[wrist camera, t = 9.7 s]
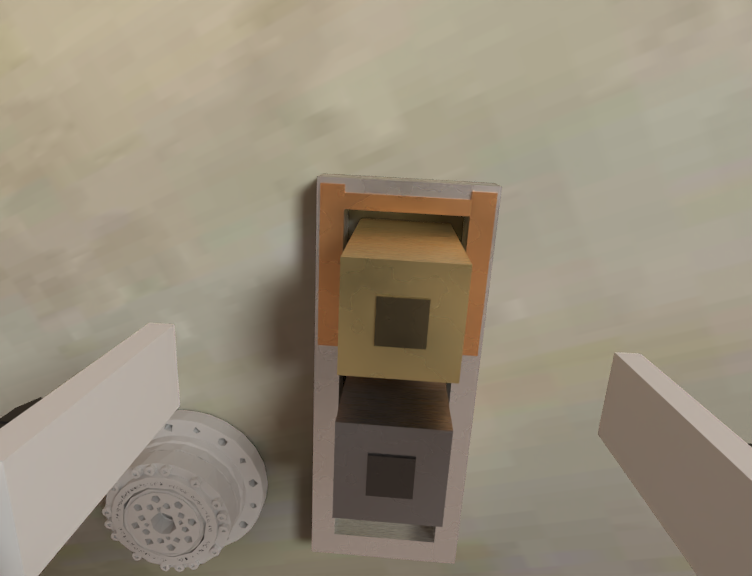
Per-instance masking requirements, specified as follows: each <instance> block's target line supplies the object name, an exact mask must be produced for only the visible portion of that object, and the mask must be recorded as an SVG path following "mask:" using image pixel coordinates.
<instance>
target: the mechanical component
mask: <svg viewBox="0 0 752 576" xmlns="http://www.w3.org/2000/svg"><path fill="white" fill-rule="evenodd" d="M267 487H268V480H267V475H266V470H265V464H264V462H263V460H262V459H261V457H260V455H259V453H258V451H257V449H256V447H255V446H254V445H253V444H252V443H251V442H250V441H249V440H248V438H247V437H246V436H245V435H244V434H243V433H242V432H240V431H239V430H237V429H236V428H234V427H233V426H232V425H230V424H229V423H227V422H226V421H224V420H221V419H219V418H217V417H214V416H212V415H209V414H205V413H201V412H196V411H189V410H176V411H175V412H174V414H173V415H172V416H171V417H170V418H169V420H168V421H167V422H166V423H165V424H164V426H163V427H162V428H161V429H160V430H159V432H158V433H157V434H156V435H155V436H154V438H153V439H152V440H151V441H150V442H149V444H148V445H147V446H146V447H145V448H144V450H143V451H142V452H141V453H140V454H139V456H138V457H137V458H136V459H135V460H134V462H133V463H132V464H131V465H130V466H129V468H128V469H127V470H126V471H125V472H124V474H123V475H122V476H121V477H120V478H119V480H118V481H117V482H116V483H115V484H114V485H113V487H112V488H111V489H110V490H109V491H108V493H107V494H106V505H105V507H104V508H103V510H102V514H103V515H105V516H106V517H107V521H106V522H105V527H106V528H108V529H111V530H112V531H113V532H112V534H111V538H112V539H113V540H114V541H120V542H121V543H122V544H123V545H124V546H125V547H126V548H128V549H129V550H130V551H132V552H134V553H133V554H132V558H133V559H134V560H137V561H139V560H141V558H144V559H145V560H147V561H149V562H151V563H155V564H159V565H160V568H161V569H162V570H163V571H168V570H169V569H170V567H175V570H176V571H178V572H182V571H183V570H184V568H185V567H189V568H191V569H193V570H194V569H197V568H198V566H199V564H202V563H205V562H206V561H208V560H210V559H211V558H213V557H214V556H218V555H219V553H220V551H221V549H222V548H223V547H224V546H225V545H228V544H230V543H232V542H235V541H237V540H239V539H240V538H241V537H242V536H244V535H245V534H246V533H247V532H248V531H249V530H250V529H251V528H252V526H253V525H254V524H255V522H256V521H257V519H258V517H259V514H260V512H261V510H262V507H263V505H264V502H265V500H266V494H267Z"/></svg>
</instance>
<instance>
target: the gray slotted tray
mask: <svg viewBox="0 0 752 576" xmlns="http://www.w3.org/2000/svg"><path fill="white" fill-rule="evenodd" d="M501 191H502V186H500V185H498V184H496V183H485V182H468V181H450V180H432V179H415V178H397V177H379V176H361V175H344V174H326V173H323V174H321V175H319V176H317V213H316V284H315V354H314V424H313V494H312V551H315V552H327V553H338V554H349V555H361V556H372V557H384V558H395V559H407V560H418V561H429V562H441V563H452V564H455V556H456V548H457V540H458V532H459V524H460V516H461V508H462V500H463V492H464V485H465V477H466V469H467V461H468V453H469V445H470V437H471V429H472V421H473V413H474V405H475V397H476V389H477V381H478V373H479V365H480V358H481V350H482V342H483V334H484V326H485V318H486V310H487V302H488V294H489V286H490V278H491V270H492V262H493V254H494V246H495V239H496V231H497V223H498V215H499V207H500V199H501ZM349 209H351V210H368V211H385V212H402V213H419V214H435V215H452V216H464V222H463V232H462V241H461V245H462V246H463V248H464V250H465V252H466V254H467V256H468V258H469V259H470V261H471V263H472V273H471V282H470V291H469V300H468V309H467V318H466V327H465V336H464V345H463V353H462V362H461V371H460V380H459V384H456V383H447V384H446V390H447V396H448V402H449V409H450V415H451V421H452V427H453V437H452V446H451V455H450V464H449V473H448V482H447V491H446V500H445V509H444V518H443V526H442V527H435V526H424V525H412V524H400V523H388V522H376V521H364V520H353V519H341V518H332V513H333V478H334V444H335V421H336V417H337V413H338V408H339V404H340V400H341V396H342V392H343V375H337V359H338V324H339V289H340V257H341V255H342V253H343V251H344V249H345V247H346V245H347V244H348V216H349Z"/></svg>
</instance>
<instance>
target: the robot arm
mask: <svg viewBox="0 0 752 576" xmlns="http://www.w3.org/2000/svg"><path fill="white" fill-rule="evenodd" d="M179 407H180V397H179V382H178V368H177V354H176V339H175V325H174V324H163V323H148V324H147V325H145V326H144V327H143V328H141V329H140V330H138V331H137V332H136V333H134V334H133V335H131V336H130V337H128V338H127V339H126V340H124V341H123V342H121V343H120V344H119V345H117V346H116V347H114V348H113V349H112V350H110V351H109V352H107V353H106V354H105V355H103V356H102V357H100V358H99V359H98V360H96V361H95V362H93V363H92V364H90V365H89V366H88V367H86V368H85V369H83V370H82V371H81V372H79V373H78V374H76V375H75V376H74V377H72V378H71V379H69V380H68V381H67V382H65V383H64V384H62V385H61V386H60V387H58V388H57V389H55V390H54V391H53V392H51V393H50V394H48V395H47V396H45V397H44V398H41V397H40V398H38V399H35V400H33V401H31V402H28V403H26V404H24V405H21V406H19V407H17V408H15V409H13V410H12V411H11V412H9V413H8V414H6V415H5V416H3V417H2V418H0V576H38V575H39V574H40V573H41V572H42V570H43V569H44V568H45V567H46V566H47V564H48V563H49V562H50V561H51V560H52V558H53V557H54V556H55V555H56V554H57V553H58V551H59V550H60V549H61V548H62V547H63V545H64V544H65V543H66V542H67V541H68V539H69V538H70V537H71V536H72V535H73V533H74V532H75V531H76V530H77V529H78V527H79V526H80V525H81V524H82V523H83V521H84V520H85V519H86V518H87V517H88V515H89V514H90V513H91V512H92V511H93V509H94V508H95V507H96V506H97V505H98V503H99V502H100V501H101V500H102V499H103V497H104V496H105V495H106V494H107V493H108V491H109V490H110V489H111V488H112V487H113V485H114V484H115V483H116V482H117V481H118V480H119V478H120V477H121V476H122V475H123V474H124V472H125V471H126V470H127V469H128V468H129V466H130V465H131V464H132V463H133V462H134V460H135V459H136V458H137V457H138V456H139V454H140V453H141V452H142V451H143V450H144V448H145V447H146V446H147V445H148V444H149V442H150V441H151V440H152V439H153V438H154V436H155V435H156V434H157V433H158V432H159V430H160V429H161V428H162V427H163V426H164V424H165V423H166V422H167V421H168V420H169V418H170V417H171V416H172V415H173V414H174V412H175V411H176V410H177V409H178V408H179ZM598 435H599V436H600V438H601V439H602V441H603V442H604V443H605V445H606V446H607V448H608V449H609V451H610V452H611V453H612V455H613V456H614V458H615V459H616V461H617V462H618V463H619V465H620V466H621V468H622V469H623V471H624V472H625V473H626V475H627V476H628V478H629V479H630V480H631V482H632V483H633V485H634V486H635V488H636V489H637V490H638V492H639V493H640V495H641V496H642V498H643V499H644V500H645V502H646V503H647V505H648V506H649V507H650V509H651V510H652V512H653V513H654V515H655V516H656V517H657V519H658V520H659V522H660V523H661V525H662V526H663V527H664V529H665V530H666V532H667V533H668V535H669V536H670V537H671V539H672V540H673V542H674V543H675V544H676V546H677V547H678V549H679V550H680V552H681V553H682V554H683V556H684V557H685V559H686V560H687V562H688V563H689V564H690V566H691V567H692V569H693V570H694V571H695V573H696V574H697V576H752V444H747V443H746V442H745V441H744V440H742V439H741V438H740V437H739V436H738V435H737V434H735V433H734V432H733V431H732V430H731V429H729V428H728V427H727V426H726V425H725V424H724V423H722V422H721V421H720V420H719V419H718V418H716V417H715V416H714V415H713V414H712V413H710V412H709V411H708V410H707V409H706V408H705V407H703V406H702V405H701V404H700V403H699V402H697V401H696V400H695V399H694V398H693V397H692V396H690V395H689V394H688V393H687V392H686V391H684V390H683V389H682V388H681V387H680V386H678V385H677V384H676V383H675V382H674V381H673V380H671V379H670V378H669V377H668V376H667V375H665V374H664V373H663V372H662V371H661V370H660V369H658V368H657V367H656V366H655V365H654V364H652V363H651V362H650V361H649V360H648V359H646V358H645V357H644V356H643V355H642V354H637V353H621V352H614V357H613V362H612V367H611V372H610V377H609V382H608V386H607V391H606V396H605V401H604V406H603V411H602V416H601V420H600V425H599V430H598Z"/></svg>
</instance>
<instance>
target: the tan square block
mask: <svg viewBox="0 0 752 576" xmlns="http://www.w3.org/2000/svg"><path fill="white" fill-rule="evenodd" d="M471 273H472V263H471V261H470V259H469V258H468V256H467V254H466V252H465V250H464V248H463V246H462V245H461V243H460V241H459V239H458V237H457V235H456V233H455V232H454V230H453V228H452V226H451V224H450V223H437V222H420V221H403V220H386V219H369V218H361V219H360V221H359V223H358V225H357V227H356V229H355V231H354V232H353V234H352V236H351V238H350V240H349V242H348V244H347V245H346V247H345V249H344V251H343V253H342V255H341V257H340V289H339V324H338V359H337V375H344V376H358V377H372V378H386V379H400V380H414V381H428V382H442V383H456V384H459V380H460V371H461V362H462V353H463V345H464V336H465V327H466V318H467V309H468V300H469V291H470V282H471Z"/></svg>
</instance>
